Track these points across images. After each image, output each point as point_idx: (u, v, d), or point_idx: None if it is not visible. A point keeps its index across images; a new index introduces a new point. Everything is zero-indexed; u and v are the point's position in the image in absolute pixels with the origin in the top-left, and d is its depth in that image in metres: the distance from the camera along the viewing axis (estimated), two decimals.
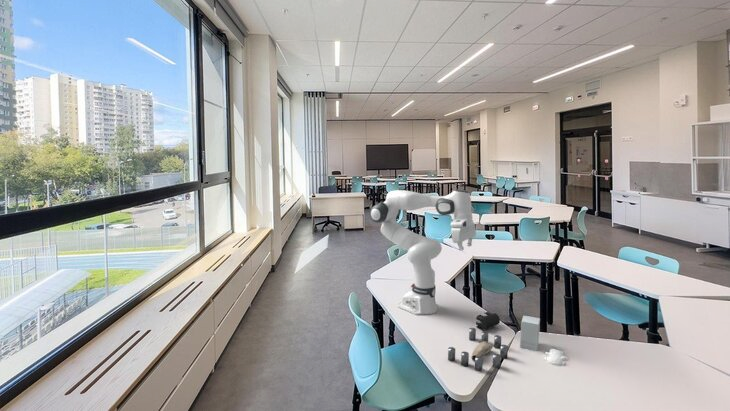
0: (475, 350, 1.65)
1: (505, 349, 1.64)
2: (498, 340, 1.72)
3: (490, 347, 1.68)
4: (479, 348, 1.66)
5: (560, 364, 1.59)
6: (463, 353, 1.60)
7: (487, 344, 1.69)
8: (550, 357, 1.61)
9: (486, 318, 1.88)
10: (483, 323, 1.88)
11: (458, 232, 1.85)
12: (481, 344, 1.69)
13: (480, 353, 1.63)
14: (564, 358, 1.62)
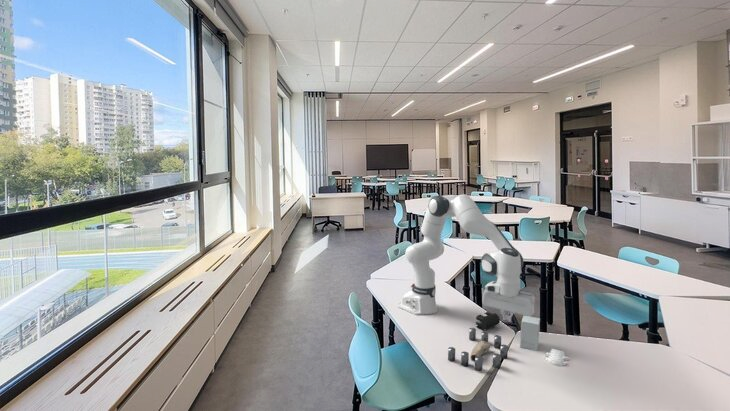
0: (474, 350, 1.65)
1: (505, 349, 1.64)
2: (498, 340, 1.72)
3: (488, 346, 1.69)
4: (478, 348, 1.66)
5: (561, 364, 1.58)
6: (463, 353, 1.60)
7: (485, 343, 1.69)
8: (551, 357, 1.61)
9: (486, 318, 1.88)
10: (483, 323, 1.88)
11: None
12: (479, 344, 1.70)
13: (479, 353, 1.63)
14: (565, 358, 1.62)
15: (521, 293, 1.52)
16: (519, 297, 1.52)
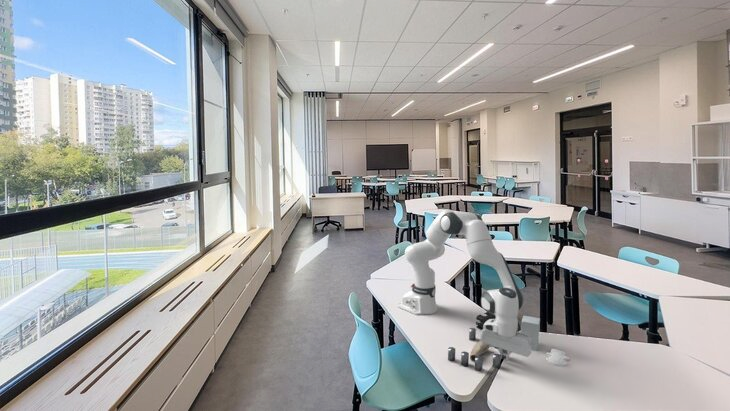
0: (473, 350, 1.66)
1: None
2: None
3: (488, 346, 1.69)
4: (477, 347, 1.66)
5: (562, 364, 1.58)
6: (463, 353, 1.60)
7: None
8: (552, 357, 1.61)
9: (486, 318, 1.88)
10: (483, 323, 1.88)
11: None
12: (479, 343, 1.70)
13: (478, 352, 1.63)
14: (566, 358, 1.62)
15: (519, 333, 1.55)
16: (517, 337, 1.54)
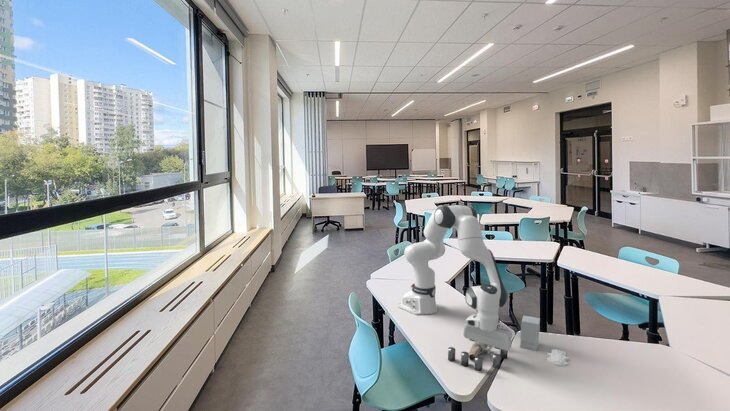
0: (472, 349, 1.66)
1: None
2: None
3: (486, 345, 1.70)
4: (476, 347, 1.67)
5: (562, 364, 1.58)
6: (463, 353, 1.60)
7: None
8: (552, 358, 1.61)
9: None
10: None
11: None
12: (477, 343, 1.70)
13: (477, 352, 1.64)
14: (566, 358, 1.62)
15: (499, 328, 1.60)
16: (497, 332, 1.60)
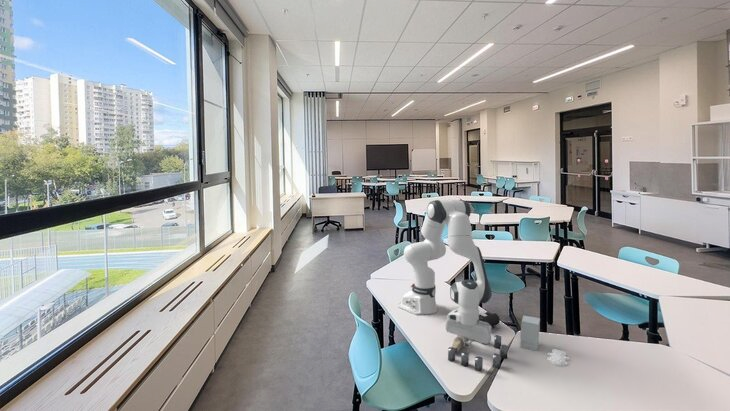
0: (454, 343, 1.71)
1: (505, 349, 1.64)
2: (498, 340, 1.72)
3: (467, 339, 1.75)
4: (458, 341, 1.72)
5: (563, 364, 1.58)
6: (463, 353, 1.60)
7: None
8: (553, 358, 1.61)
9: (486, 318, 1.88)
10: None
11: None
12: (459, 337, 1.75)
13: (459, 345, 1.69)
14: (566, 358, 1.62)
15: (479, 322, 1.65)
16: (477, 326, 1.65)
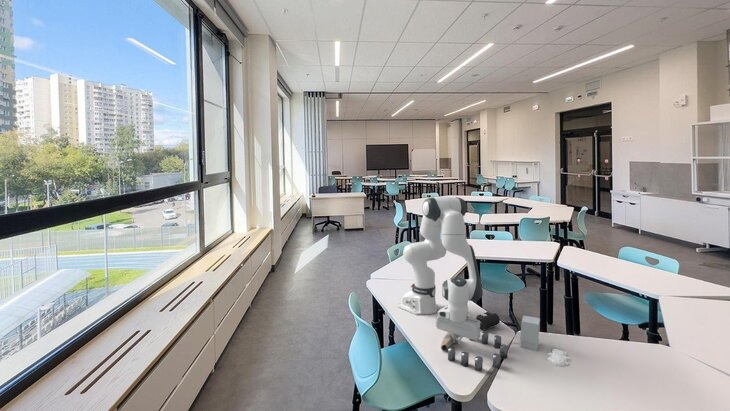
0: (444, 340, 1.74)
1: (505, 349, 1.64)
2: (498, 340, 1.72)
3: (457, 336, 1.78)
4: (447, 338, 1.75)
5: (563, 364, 1.58)
6: (463, 353, 1.60)
7: None
8: (553, 358, 1.61)
9: (486, 318, 1.88)
10: (483, 323, 1.88)
11: None
12: (449, 334, 1.78)
13: (449, 342, 1.72)
14: (567, 358, 1.62)
15: (468, 319, 1.68)
16: (466, 323, 1.68)
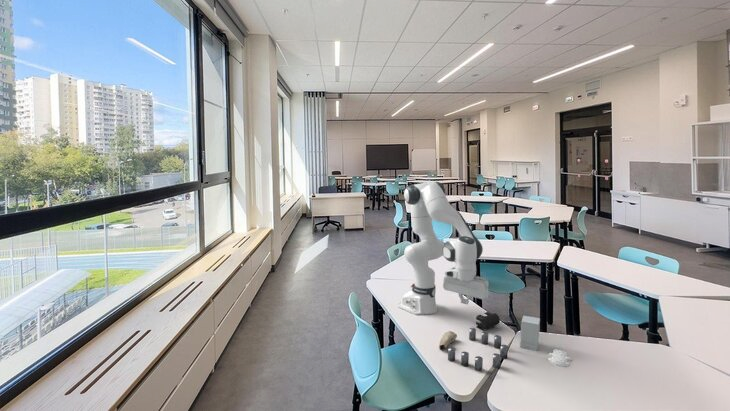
0: (442, 340, 1.74)
1: (505, 349, 1.64)
2: (498, 340, 1.72)
3: (455, 336, 1.79)
4: (445, 338, 1.75)
5: (564, 365, 1.58)
6: (463, 353, 1.60)
7: (452, 333, 1.79)
8: (554, 358, 1.61)
9: (486, 318, 1.88)
10: (483, 323, 1.88)
11: None
12: (447, 334, 1.79)
13: (447, 342, 1.72)
14: (568, 359, 1.62)
15: (476, 278, 1.64)
16: (474, 282, 1.64)
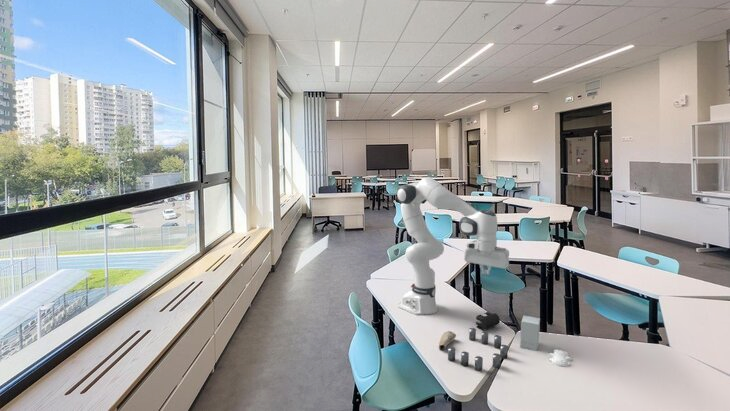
0: (441, 340, 1.74)
1: (505, 349, 1.64)
2: (498, 340, 1.72)
3: (454, 336, 1.79)
4: (445, 338, 1.75)
5: (565, 365, 1.58)
6: (463, 353, 1.60)
7: (451, 333, 1.79)
8: (555, 358, 1.61)
9: (486, 318, 1.88)
10: (483, 323, 1.88)
11: None
12: (446, 334, 1.79)
13: (446, 342, 1.72)
14: (569, 359, 1.62)
15: (497, 249, 1.73)
16: (495, 252, 1.73)
